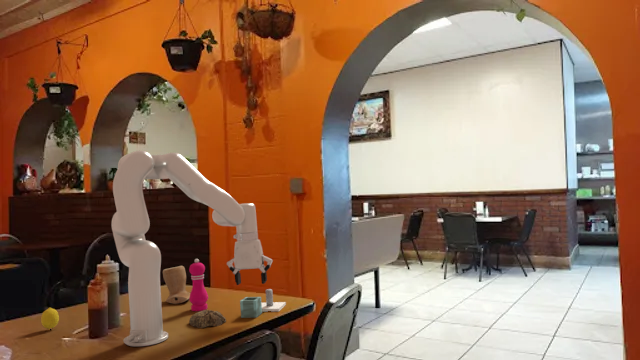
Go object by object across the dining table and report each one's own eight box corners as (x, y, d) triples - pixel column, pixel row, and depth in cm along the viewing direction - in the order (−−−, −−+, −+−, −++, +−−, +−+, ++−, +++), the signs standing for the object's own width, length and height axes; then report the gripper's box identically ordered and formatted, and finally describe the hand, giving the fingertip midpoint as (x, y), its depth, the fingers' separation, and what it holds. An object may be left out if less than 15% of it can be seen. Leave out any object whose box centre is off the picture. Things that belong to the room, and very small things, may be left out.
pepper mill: (211, 306, 190) (208, 256, 190) (205, 311, 183) (202, 259, 183) (193, 307, 190) (191, 257, 191) (187, 312, 183) (184, 260, 184)
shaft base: (279, 311, 175) (277, 292, 176) (253, 311, 177) (252, 293, 177) (285, 304, 185) (284, 286, 185) (261, 305, 187) (260, 287, 187)
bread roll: (187, 322, 169) (186, 308, 169) (221, 316, 174) (220, 303, 174) (194, 331, 157) (194, 316, 157) (231, 324, 163) (230, 310, 163)
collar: (256, 317, 169) (255, 300, 169) (241, 317, 170) (240, 301, 170) (262, 313, 175) (261, 296, 175) (246, 313, 176) (245, 297, 176)
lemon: (39, 333, 166) (38, 310, 166) (44, 329, 171) (43, 306, 171) (57, 331, 167) (56, 308, 167) (61, 326, 172) (60, 305, 173)
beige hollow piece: (168, 298, 211) (166, 264, 212) (195, 296, 212) (193, 262, 213) (158, 306, 196) (157, 270, 197) (187, 304, 197) (185, 268, 197)
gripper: (221, 239, 171) (225, 287, 171) (267, 237, 168) (271, 285, 168) (229, 237, 178) (232, 282, 178) (273, 234, 175) (276, 280, 175)
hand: (251, 283), depth 173 cm, fingers open, 9 cm apart
